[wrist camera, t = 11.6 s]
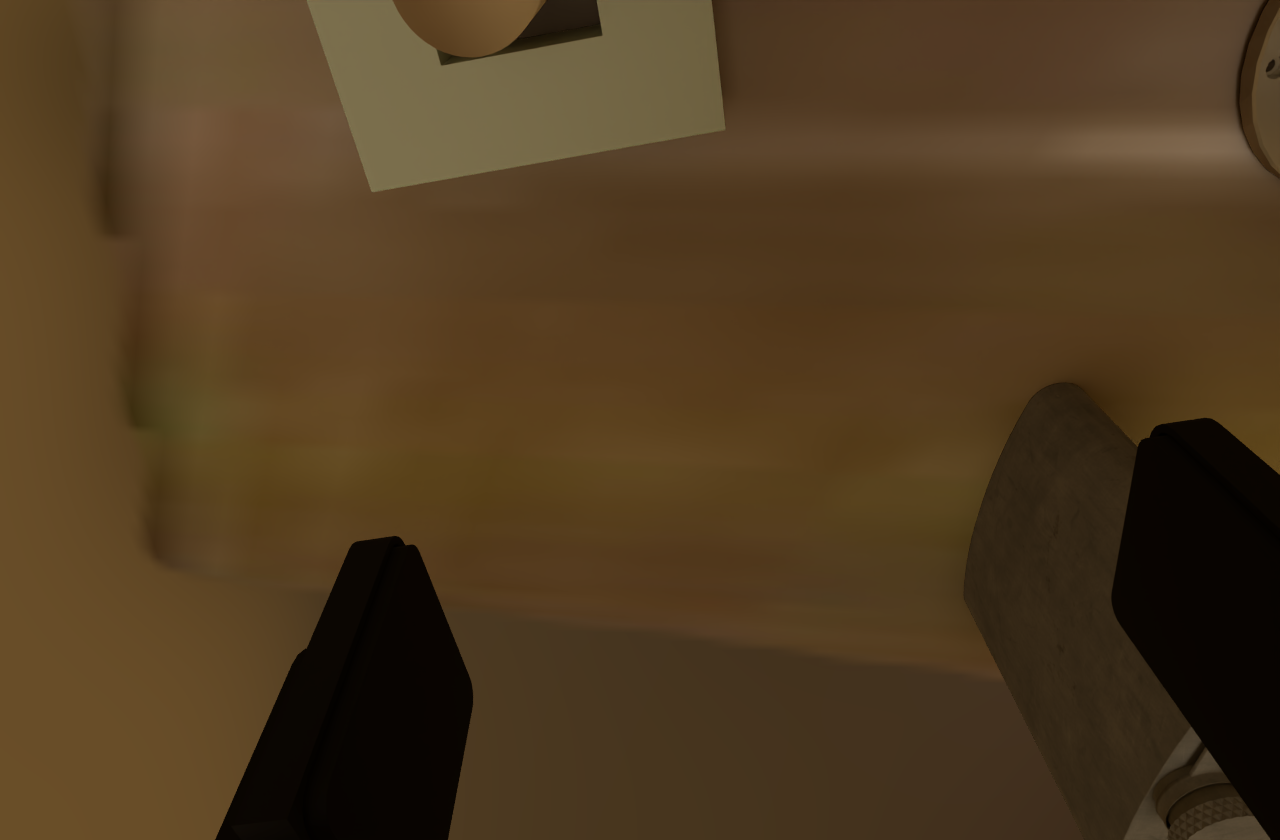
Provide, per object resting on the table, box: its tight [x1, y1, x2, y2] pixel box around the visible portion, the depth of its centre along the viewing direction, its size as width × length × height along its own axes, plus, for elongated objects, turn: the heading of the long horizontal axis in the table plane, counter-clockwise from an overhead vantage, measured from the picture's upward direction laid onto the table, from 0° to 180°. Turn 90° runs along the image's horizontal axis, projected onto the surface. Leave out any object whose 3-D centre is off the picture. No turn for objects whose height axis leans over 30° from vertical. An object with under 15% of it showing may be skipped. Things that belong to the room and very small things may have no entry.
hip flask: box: [964, 383, 1270, 840], centre depth 38 cm, size 16×4×20 cm, turn 177°
